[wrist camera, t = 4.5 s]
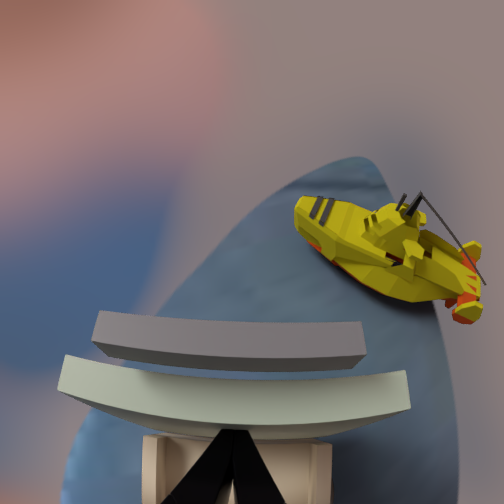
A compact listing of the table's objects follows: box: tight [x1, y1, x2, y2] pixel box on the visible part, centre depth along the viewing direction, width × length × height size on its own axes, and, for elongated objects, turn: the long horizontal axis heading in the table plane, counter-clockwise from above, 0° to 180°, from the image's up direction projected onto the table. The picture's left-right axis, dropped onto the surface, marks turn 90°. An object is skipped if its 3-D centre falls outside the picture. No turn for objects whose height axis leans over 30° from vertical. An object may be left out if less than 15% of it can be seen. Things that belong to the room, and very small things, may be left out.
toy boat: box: [294, 192, 486, 324], centre depth 19 cm, size 6×18×10 cm, turn 63°
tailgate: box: [57, 310, 411, 440], centre depth 10 cm, size 2×10×12 cm, turn 89°
